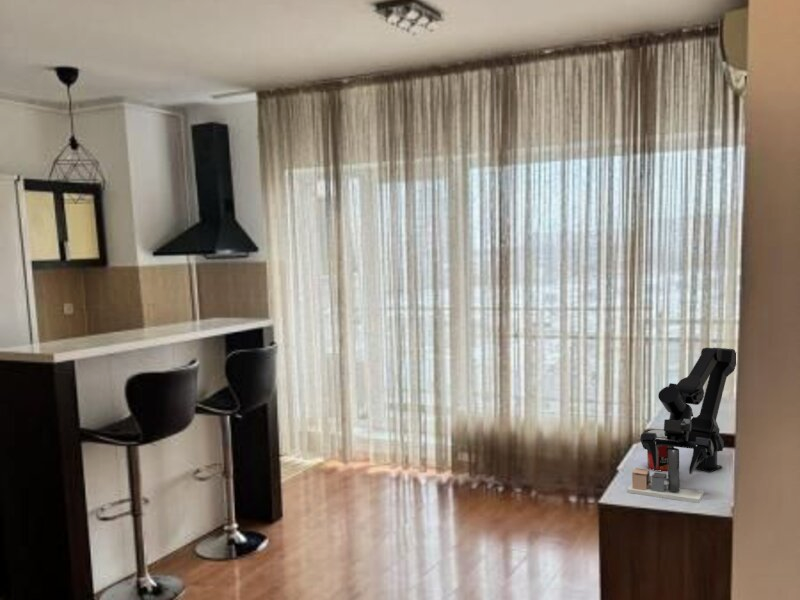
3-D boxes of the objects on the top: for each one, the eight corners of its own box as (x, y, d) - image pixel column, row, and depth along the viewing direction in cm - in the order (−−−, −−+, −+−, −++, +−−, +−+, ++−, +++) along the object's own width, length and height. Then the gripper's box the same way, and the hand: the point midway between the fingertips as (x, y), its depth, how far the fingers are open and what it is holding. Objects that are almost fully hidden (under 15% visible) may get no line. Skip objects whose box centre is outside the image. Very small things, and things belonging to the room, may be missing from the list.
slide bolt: (680, 488, 196) (680, 448, 195) (678, 492, 194) (677, 451, 193) (640, 483, 202) (639, 444, 201) (637, 486, 200) (636, 447, 199)
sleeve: (666, 488, 198) (666, 473, 198) (664, 492, 196) (663, 477, 195) (654, 486, 200) (654, 472, 200) (652, 490, 197) (651, 476, 197)
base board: (703, 495, 195) (703, 491, 195) (699, 502, 189) (699, 499, 189) (633, 485, 205) (632, 481, 205) (627, 492, 200) (627, 489, 200)
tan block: (649, 485, 201) (649, 469, 201) (646, 490, 198) (646, 474, 197) (636, 483, 203) (635, 467, 203) (632, 488, 200) (632, 472, 199)
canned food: (662, 473, 214) (661, 438, 213) (642, 466, 221) (641, 432, 220) (680, 468, 217) (679, 433, 216) (659, 462, 224) (658, 428, 223)
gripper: (641, 404, 202) (632, 452, 194) (711, 409, 192) (705, 461, 184) (648, 424, 209) (639, 472, 201) (716, 430, 200) (710, 481, 191)
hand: (672, 471), depth 194 cm, fingers open, 9 cm apart
